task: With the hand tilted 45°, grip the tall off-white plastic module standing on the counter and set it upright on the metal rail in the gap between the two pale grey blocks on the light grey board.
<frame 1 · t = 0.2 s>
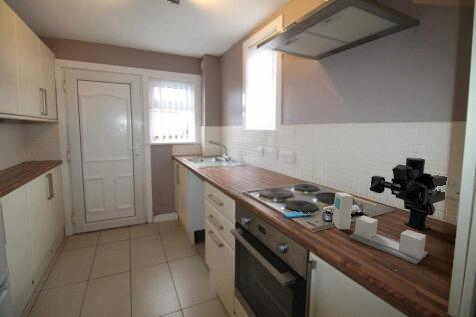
hand: (382, 192, 83), 17 cm above the worktop, tool horizontal, fingers open, 9 cm apart
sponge: (295, 215, 106), on the worktop
module: (340, 226, 95), on the worktop
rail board: (386, 245, 80), on the worktop
gun: (343, 213, 110), on the worktop
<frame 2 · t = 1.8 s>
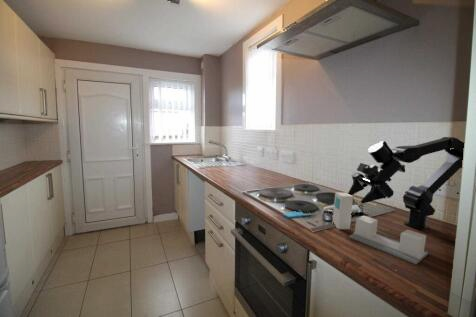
hand: (354, 198, 93), 11 cm above the worktop, tool tilted 45°, fingers open, 9 cm apart
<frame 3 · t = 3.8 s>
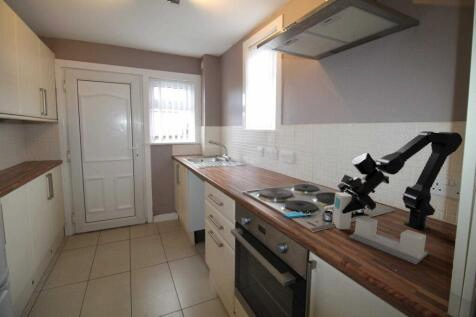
hand: (339, 210, 93), 7 cm above the worktop, tool tilted 45°, fingers closed on module, 5 cm apart
module: (340, 226, 95), on the worktop, touching gripper
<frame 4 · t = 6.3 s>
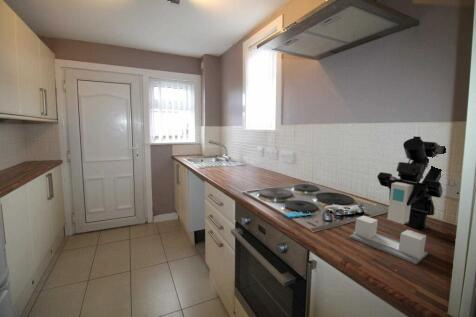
hand: (398, 202, 83), 13 cm above the worktop, tool tilted 45°, fingers closed on module, 5 cm apart
module: (397, 220, 85), point 7 cm above the worktop, touching gripper
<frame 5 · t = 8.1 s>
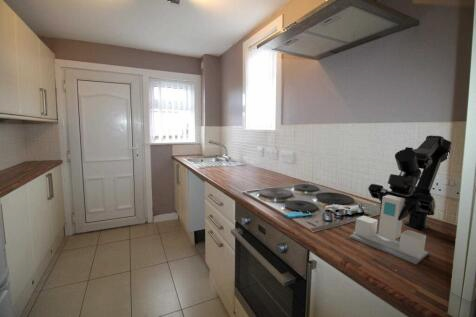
hand: (389, 217, 79), 10 cm above the worktop, tool tilted 45°, fingers closed on module, 5 cm apart
module: (389, 235, 81), point 3 cm above the worktop, touching gripper
when the fingers open (9 cm above the worktop, at t = 9.0 s): module drops 1 cm, resting on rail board.
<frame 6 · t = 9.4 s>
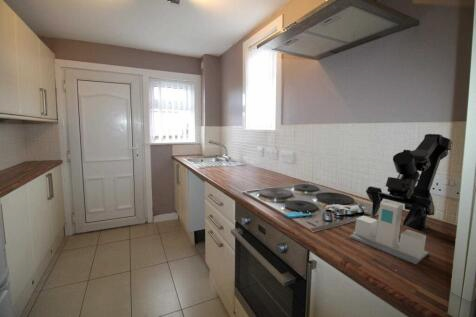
hand: (387, 220, 78), 9 cm above the worktop, tool tilted 45°, fingers open, 9 cm apart
module: (386, 241, 80), point 1 cm above the worktop, touching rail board
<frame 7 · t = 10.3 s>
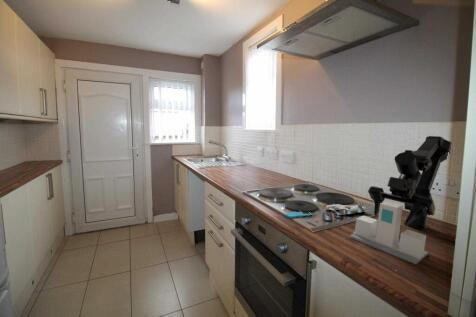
hand: (389, 219, 79), 9 cm above the worktop, tool tilted 45°, fingers open, 9 cm apart
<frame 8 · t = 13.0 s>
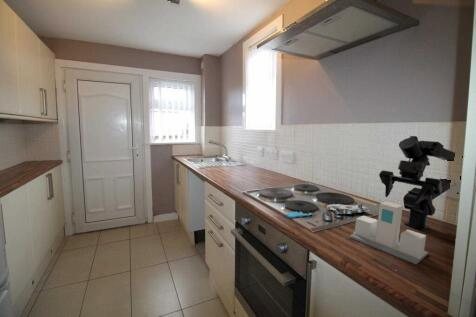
hand: (400, 199, 86), 14 cm above the worktop, tool tilted 45°, fingers open, 9 cm apart
at the end: module 0.0 cm off-centre on the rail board, point 1.2 cm above the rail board's base; module tilted 0°; the gripper is holding nothing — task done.
